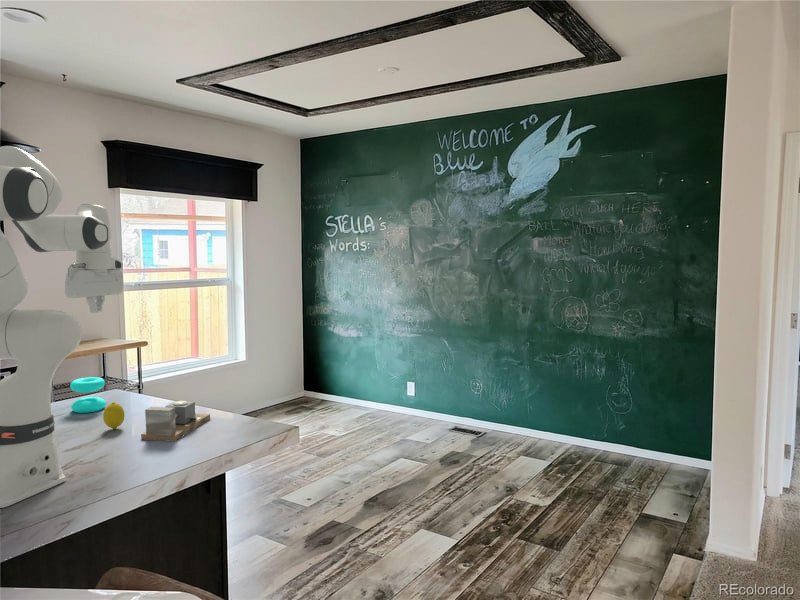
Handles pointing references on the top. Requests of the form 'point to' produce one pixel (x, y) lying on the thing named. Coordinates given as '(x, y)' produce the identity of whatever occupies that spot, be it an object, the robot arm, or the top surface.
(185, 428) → the bench
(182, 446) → the top surface
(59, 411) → the top surface
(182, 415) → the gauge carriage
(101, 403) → the donuts
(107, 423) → the lemon
